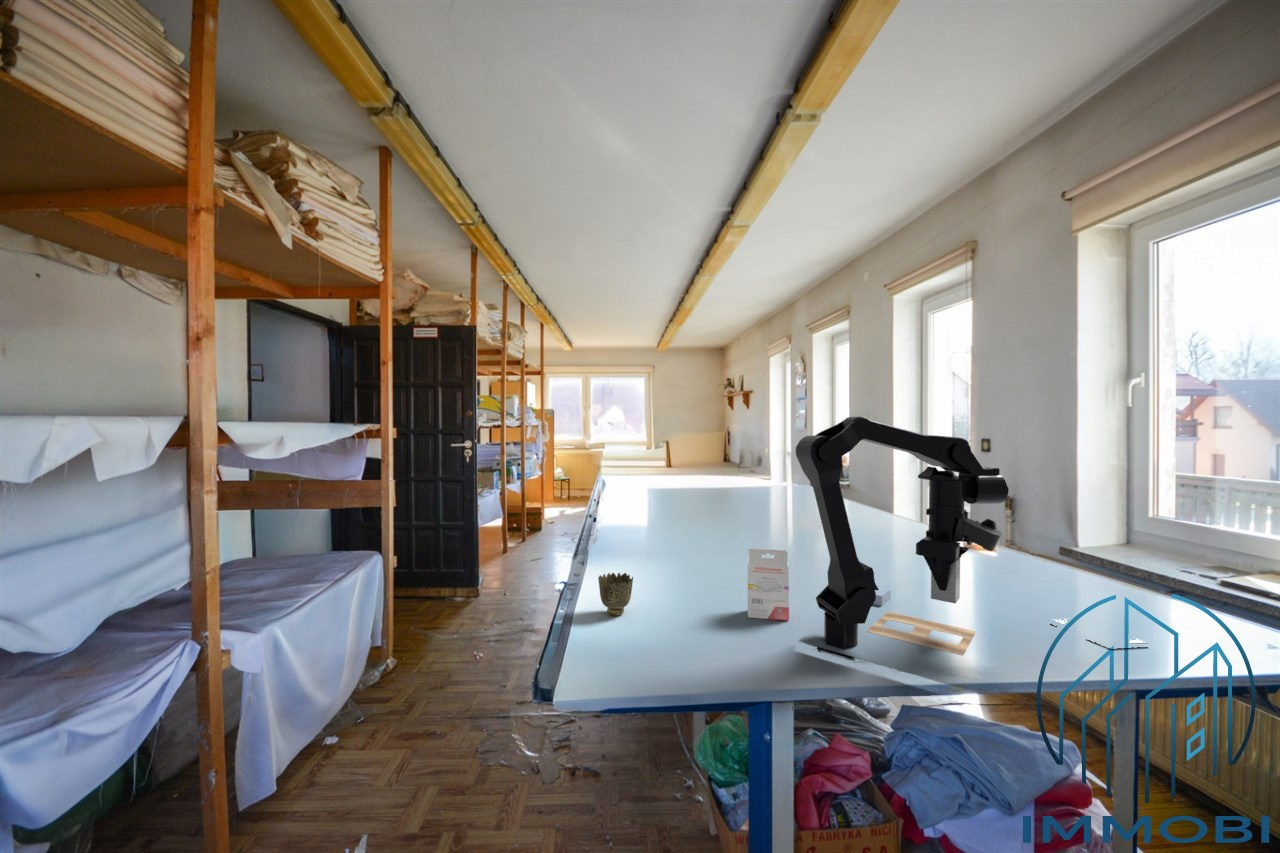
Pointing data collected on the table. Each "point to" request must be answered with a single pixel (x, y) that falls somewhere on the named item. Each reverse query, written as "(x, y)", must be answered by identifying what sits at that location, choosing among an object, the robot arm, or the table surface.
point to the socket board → (924, 633)
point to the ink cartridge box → (768, 585)
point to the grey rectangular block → (948, 586)
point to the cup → (615, 592)
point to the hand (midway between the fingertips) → (945, 587)
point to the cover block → (882, 596)
